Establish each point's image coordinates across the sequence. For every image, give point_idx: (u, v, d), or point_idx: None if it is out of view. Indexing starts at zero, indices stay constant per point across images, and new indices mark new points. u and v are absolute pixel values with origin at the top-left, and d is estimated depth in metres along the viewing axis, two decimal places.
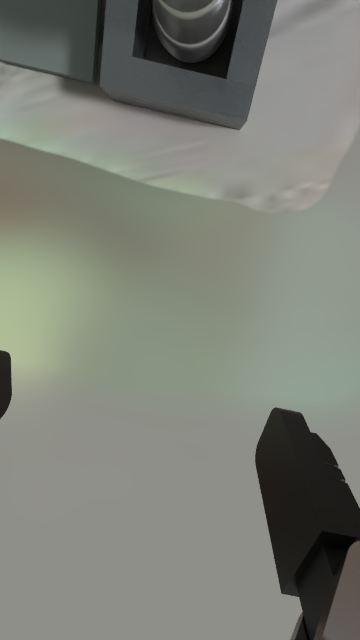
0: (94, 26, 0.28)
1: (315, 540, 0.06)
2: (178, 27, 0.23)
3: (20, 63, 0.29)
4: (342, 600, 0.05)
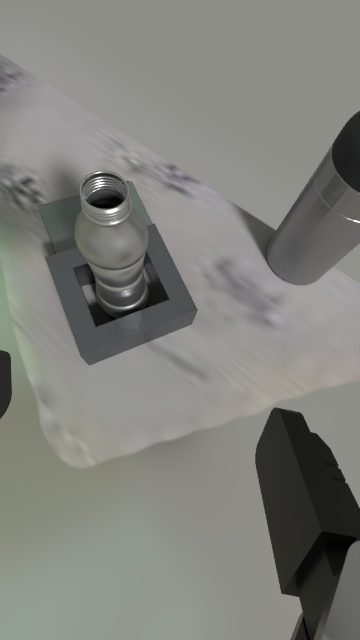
0: None
1: (315, 540, 0.06)
2: (95, 280, 0.34)
3: None
4: (342, 600, 0.05)
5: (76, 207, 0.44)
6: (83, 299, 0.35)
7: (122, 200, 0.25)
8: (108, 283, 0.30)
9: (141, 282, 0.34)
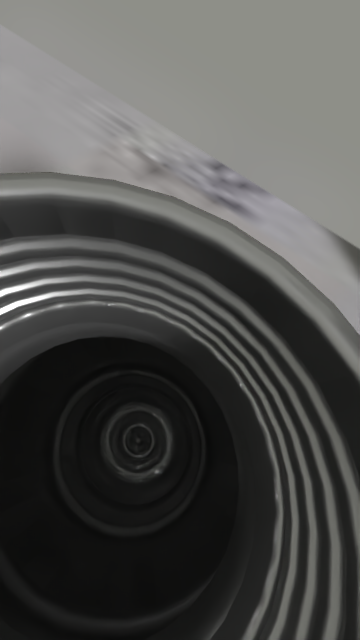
0: None
1: None
2: None
3: None
4: None
5: None
6: None
7: (202, 378, 0.04)
8: None
9: None
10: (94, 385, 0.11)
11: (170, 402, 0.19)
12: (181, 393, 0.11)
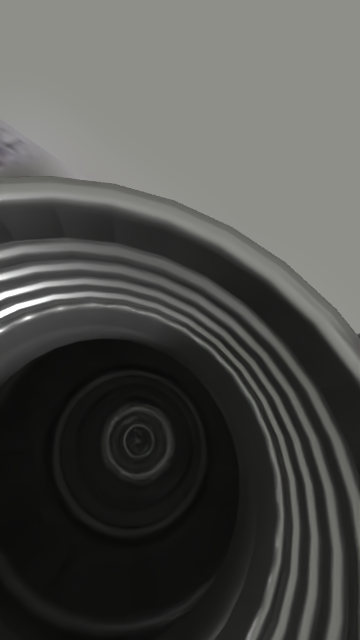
0: None
1: None
2: None
3: None
4: None
5: None
6: None
7: (203, 380, 0.04)
8: None
9: None
10: (94, 386, 0.11)
11: (170, 402, 0.19)
12: (181, 394, 0.11)
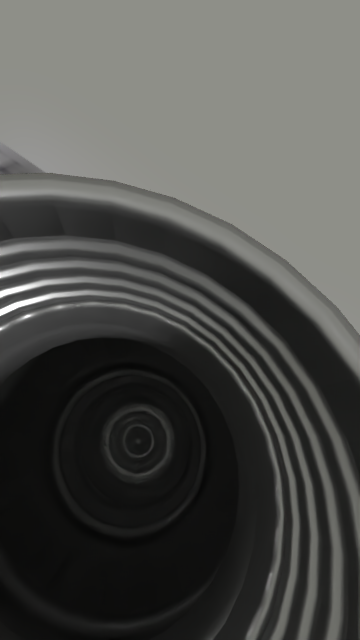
0: None
1: None
2: None
3: None
4: None
5: None
6: None
7: (202, 379, 0.04)
8: None
9: None
10: (94, 385, 0.11)
11: (170, 402, 0.19)
12: (181, 393, 0.11)
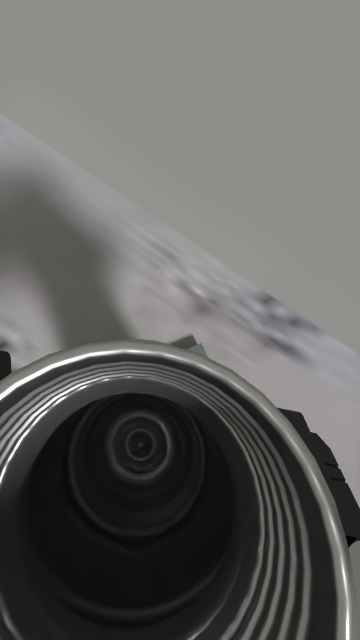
0: None
1: None
2: None
3: None
4: None
5: None
6: None
7: (208, 427, 0.05)
8: None
9: None
10: (104, 400, 0.13)
11: (170, 409, 0.20)
12: (183, 408, 0.13)
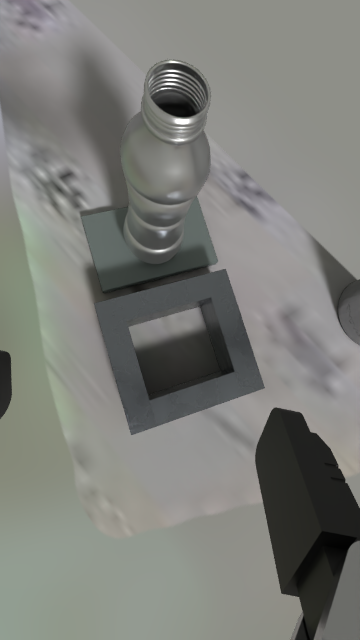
0: (137, 280, 0.35)
1: (315, 540, 0.06)
2: (128, 214, 0.28)
3: (86, 233, 0.35)
4: (342, 600, 0.05)
5: None
6: (137, 363, 0.30)
7: (192, 110, 0.19)
8: (148, 219, 0.25)
9: (182, 224, 0.29)
10: None
11: None
12: None
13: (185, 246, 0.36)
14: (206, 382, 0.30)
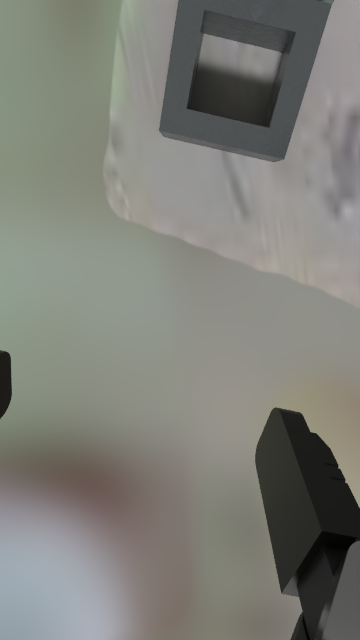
0: None
1: (315, 540, 0.06)
2: None
3: None
4: (342, 600, 0.05)
5: None
6: (192, 65, 0.31)
7: None
8: None
9: None
10: None
11: None
12: None
13: None
14: (240, 122, 0.33)
